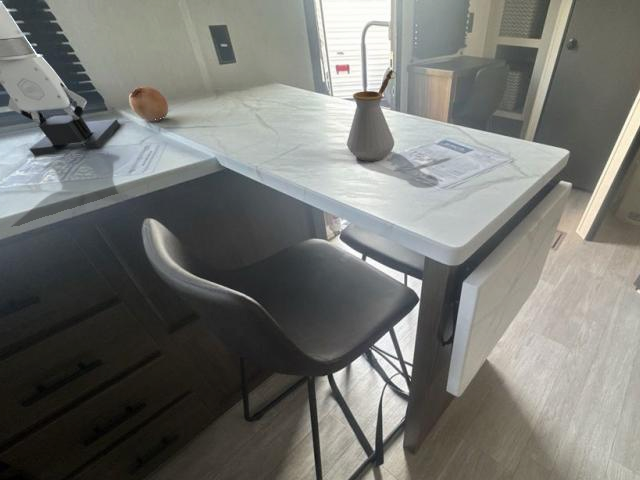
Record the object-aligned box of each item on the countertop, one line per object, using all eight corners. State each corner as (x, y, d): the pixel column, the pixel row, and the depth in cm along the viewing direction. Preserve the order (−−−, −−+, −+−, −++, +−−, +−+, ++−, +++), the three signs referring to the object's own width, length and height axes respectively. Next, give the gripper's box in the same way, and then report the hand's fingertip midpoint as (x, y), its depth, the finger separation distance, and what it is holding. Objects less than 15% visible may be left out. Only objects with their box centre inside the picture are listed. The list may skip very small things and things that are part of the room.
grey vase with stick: (384, 167, 72) (381, 91, 62) (340, 160, 75) (329, 86, 64) (413, 137, 86) (414, 70, 75) (374, 132, 89) (371, 67, 78)
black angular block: (53, 145, 78) (38, 125, 75) (65, 135, 84) (52, 116, 80) (81, 142, 80) (67, 123, 76) (91, 132, 85) (79, 113, 82)
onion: (159, 134, 97) (134, 105, 87) (138, 120, 98) (111, 90, 89) (182, 115, 99) (160, 85, 90) (161, 102, 101) (137, 71, 91)
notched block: (34, 155, 78) (28, 148, 77) (64, 129, 91) (61, 124, 90) (98, 148, 81) (94, 142, 80) (119, 124, 94) (116, 119, 93)
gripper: (-51, 53, 64) (25, 146, 77) (49, 49, 68) (106, 138, 81) (-30, 48, 69) (38, 136, 82) (63, 44, 73) (114, 128, 86)
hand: (71, 136), depth 81 cm, fingers closed on black angular block, 5 cm apart
